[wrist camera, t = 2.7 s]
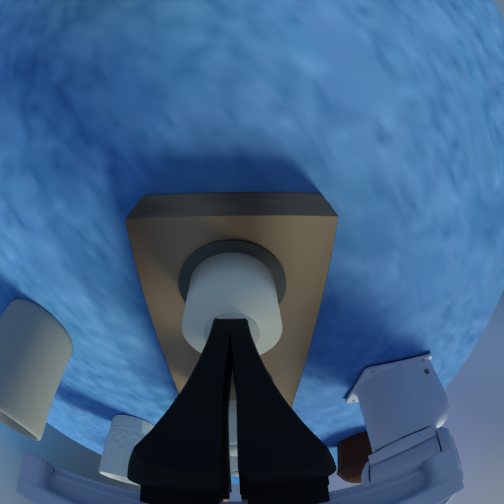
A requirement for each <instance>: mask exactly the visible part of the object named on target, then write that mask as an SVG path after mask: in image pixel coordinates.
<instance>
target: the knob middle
mask: <svg viewBox="0 0 504 504" xmlns="http://www.w3.org/2000/svg"><path fill="white" fill-rule="evenodd" d="M229 449H230V456H237V408H236V401H230V403H229Z"/></svg>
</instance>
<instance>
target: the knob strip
mask: <svg viewBox="0 0 504 504" xmlns="http://www.w3.org/2000/svg"><path fill="white" fill-rule="evenodd" d="M125 221H126V226H127V231H128V235H129V240H130V244H131V248H132V252H133V256H134V260H135V264H136V268H137V272H138V276H139V279H140V283H141V287H142V290H143V294H144V297H145V300H146V304H147V307H148V310H149V313H150V316H151V320H152V323H153V326H154V329H155V332H156V335H157V337H158V340H159V343H160V346H161V349H162V351H163V354H164V357H165V360H166V362H167V365H168V367H169V370H170V372H171V375H172V377H173V380H174V382H175V385H176V387H177V390H178V392H179V394H180V392H181V390H182V389H183V387H184V386H185V384H186V382H187V381H188V379H189V377H190V375H191V374H192V372H193V370H194V368H195V366H196V364H197V362H198V360H199V358H200V356H201V354H202V353H200V352H198V351H197V350H195V349H194V348H193V347H192V346H191V345H190V344H189V343H188V342H187V341H186V339H185V337H184V335H183V333H182V320H183V314H184V309H185V304H186V299H187V294H188V289H189V284H190V279H191V276H192V274H193V271H194V270H195V269H196V267H197V266H198V265H199V264H200V263H201V262H203V261H204V260H206V259H207V258H209V257H212V256H214V255H217V254H222V253H242V254H246V255H250V256H252V257H255V258H256V259H258V260H260V261H261V262H263V263H264V264H265V265H266V266H267V267H268V268H269V270H270V271H271V273H272V275H273V277H274V281H275V287H276V292H277V298H278V304H279V309H280V315H281V321H282V334H281V337H280V339H279V340H278V342H277V343H276V344H275V345H274V346H273V347H272V348H271V349H270V350H268V351H267V352H265V353H263V354H261V355H260V357H261V360H262V362H263V364H264V366H265V368H266V370H267V371H268V373H269V375H270V377H271V379H272V380H273V382H274V384H275V385H276V387H277V388H278V390H279V391H280V393H281V394H282V396H283V397H284V399H285V400H286V402H287V403H288V404H289V406H290V407H292V404H293V401H294V398H295V395H296V392H297V389H298V386H299V382H300V379H301V376H302V372H303V369H304V366H305V362H306V359H307V355H308V351H309V348H310V344H311V340H312V337H313V333H314V329H315V325H316V321H317V317H318V313H319V309H320V305H321V301H322V296H323V292H324V287H325V283H326V278H327V274H328V269H329V264H330V259H331V254H332V249H333V244H334V238H335V233H336V227H337V222H338V215H337V214H336V212H335V211H334V210H333V208H332V207H331V205H330V204H329V203H328V201H327V200H326V199H325V197H324V196H323V195H322V193H291V192H221V193H188V194H166V195H149V196H143V197H142V198H141V200H140V201H139V202H138V203H137V205H136V206H135V207H134V208H133V210H132V211H131V212H130V214H129V215H128V216H127V218H126V219H125ZM230 401H236V392H235V384H234V375H233V367H232V379H231V391H230Z"/></svg>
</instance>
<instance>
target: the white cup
mask: <svg viewBox="0 0 504 504" xmlns="http://www.w3.org/2000/svg"><path fill="white" fill-rule="evenodd" d="M153 427H154V426H153V425H152V424H151V423H149V422H147V421H145V420H143V419H140V418H137V417H134V416H128V415H121V414H120V415H115V416H113V419H112V422H111V426H110V430H109V432H108V435H107V440H106V442H105V446H104V450H103V454H102V459H101V463H100V468H99V473H101V474H103V475H105V476H108V477H110V478H113V479H116V480H119V481H123V482H127V483H130V484H134V485H138V484H136V483H134V482H132V481H130V480H128V478H127V472H128V463H129V459H130V456H131V453H132V451H133V448H134V446H135V445H136V444H137V443H138V442H139V441H140V440H141V439H142V438H143V437H144V436H145V435H146V434H147V433H148V432H149V431H150V430H151V429H152V428H153ZM139 486H141V485H139Z"/></svg>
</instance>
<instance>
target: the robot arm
mask: <svg viewBox="0 0 504 504" xmlns="http://www.w3.org/2000/svg"><path fill="white" fill-rule="evenodd" d="M431 358H432V354H426V355H422V356H418V357H414V358H410V359H406V360H401V361H397V362H392V363H387V364H382V365H377V366H371V367H367V368H365V369H364V370H363V372H362V374H361V376H360V377H359V379H358V381H357V382H356V384H355V386H354V387H353V389H352V391H351V392H350V394H349V396H348V397H347V399H346V403H353V402H358V401H359V404H360V408H361V411H362V415H363V418H364V422H365V425H366V429H367V433H368V436H369V440H370V444H371V448H372V452H373V454H371V455H369V456H368V458H369V461H368V462H367V463H366V465H365V467H364V469H363V471H362V477H361V481H362V484H360V485H356V486H353V487H349V488H345V489H340V490H336V491H332V492H329V491H328V485H329V479H328V476H330V475H331V474H333V473H334V472H335V471H336V465H335V462H334V459H333V457H332V455H331V453H330V451H329V449H328V447H327V446H326V445H325V444H324V443H323V442H322V441H321V440H320V439H319V438H318V437H317V436H316V435H315V434H314V433H313V432H312V431H311V430H310V429H309V428H308V427H307V426H306V425H305V424H304V423H303V422H302V420H301V419H300V418H299V417H298V416H297V414H296V413H295V412H294V411H293V409H292V408H291V407H290V406H289V404H288V403H287V402H286V400H285V399H284V397H283V396H282V394H281V393H280V391H279V390H278V388H277V387H276V385H275V384H274V382H273V380H272V379H271V377H270V375H269V373H268V371H267V370H266V368H265V366H264V364H263V362H262V360H261V357H260V355H259V353H258V351H257V348H256V346H255V343H254V341H253V338H252V335H251V332H250V328H249V324H248V320H247V319H246V318H244V319H217V318H215V319H214V320H213V324H212V327H211V331H210V334H209V337H208V339H207V342H206V344H205V347H204V349H203V351H202V354H201V356H200V358H199V360H198V362H197V364H196V366H195V368H194V370H193V372H192V374H191V375H190V377H189V379H188V381H187V382H186V384H185V386H184V387H183V389H182V390H181V392H180V394H179V395H178V396H177V398H176V399H175V401H174V402H173V404H172V405H171V406H170V408H169V409H168V410H167V412H166V413H165V414H164V415H163V416H162V418H161V419H160V420H159V421H158V422H157V424H156V425H155V426H154V427H153V428H152V429H151V430H150V431H149V432H148V433H147V434H146V435H145V436H144V437H143V438H142V439H141V440H140V441H139V442H138V443H137V444H136V445H135V446H134V448H133V451H132V453H131V456H130V459H129V463H128V472H127V478H128V480H130V481H132V482H134V483H136V484H138V485H141V491H140V492H135V491H130V490H126V489H121V488H118V487H114V486H110V485H107V484H103V483H100V482H97V481H93V480H90V479H87V478H84V477H81V476H78V475H76V474H73V473H70V472H68V471H65V470H63V469H60V468H58V467H56V466H53V465H52V464H51V463H49V462H47V461H45V460H43V459H41V458H39V457H37V456H35V455H33V454H31V453H29V452H26V451H24V453H23V458H22V462H21V466H20V471H19V477H18V482H17V489H16V491H17V493H19V494H20V495H22V496H24V497H25V498H27V499H29V500H30V501H32V502H33V503H35V504H448V502H449V501H450V500H451V499H452V497H453V496H454V495H455V494H456V493H457V492H459V491H461V490H462V489H463V488H464V485H463V481H462V480H463V472H462V469H461V462H460V458H459V454H458V451H457V448H456V445H455V443H454V440H453V437H452V435H451V433H450V431H449V429H448V428H446V427H443V426H442V425H443V424H444V422H445V421H446V419H447V416H448V409H449V405H448V399H447V396H446V394H445V392H444V389H443V387H442V385H441V383H440V381H439V378H438V376H437V374H436V372H435V370H434V368H433V366H432V364H431V362H430V360H431ZM232 367H233V375H234V384H235V392H236V408H237V460H238V473H239V479H240V495H241V498H242V502H223V499H229V493H230V492H232V490H231V472H230V449H229V403H230V391H231V379H232Z"/></svg>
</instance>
